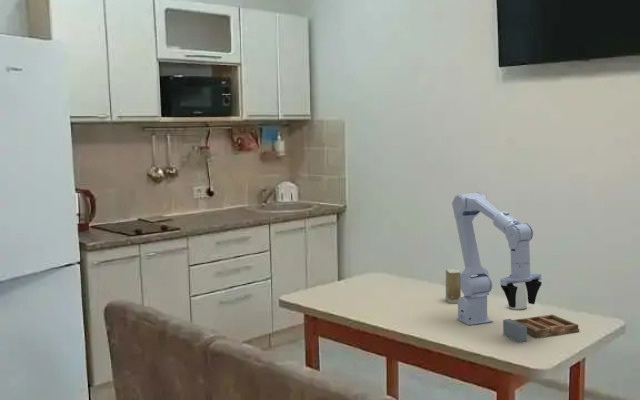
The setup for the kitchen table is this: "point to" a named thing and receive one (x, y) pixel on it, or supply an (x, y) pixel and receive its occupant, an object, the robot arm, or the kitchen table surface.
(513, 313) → the kitchen table surface
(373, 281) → the kitchen table surface
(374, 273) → the kitchen table surface
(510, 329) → the blue-gray rectangular block
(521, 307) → the can
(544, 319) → the rack
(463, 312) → the robot arm
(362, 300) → the kitchen table surface
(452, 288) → the skincare box
